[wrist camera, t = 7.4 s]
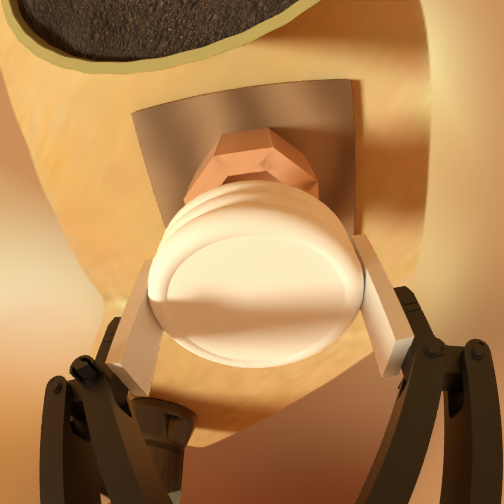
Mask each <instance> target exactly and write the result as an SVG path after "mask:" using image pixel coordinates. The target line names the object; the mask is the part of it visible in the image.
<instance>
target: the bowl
mask: <svg viewBox="0 0 504 504" xmlns="http://www.w3.org/2000/svg"><path fill="white" fill-rule="evenodd" d="M250 180H261V181H273V182H277V183H282V184H287V185H289V186H292V187H295V188H298V189H300V190H302V191H304V192H306V193H308V194H310V195H312V196H314V197H315V198H317V199H318V200H319V196H318V180H317V178H316V176H315V174H314V172H313V171H312V169H311V167H310V165H309V163H308V161H307V159H306V157H305V155H304V154H303V153H302V152H300V151H299V150H298V149H296V148H295V147H294V146H293V145H291V144H290V143H289V142H287V141H286V140H285V139H283V138H282V137H281V136H279V135H278V134H276V133H275V132H274V131H272V130H271V129H270V128H269V127H267V128H260V129H252V130H245V131H239V132H232V133H226V134H222V135H221V136H220V138H219V139H218V141H217V142H216V143H215V145H214V146H213V148H212V149H211V150H210V152H209V153H208V155H207V156H206V157H205V159H204V160H203V162H202V163H201V165H200V166H199V167H198V168H197V170H196V173H195V175H194V177H193V179H192V181H191V183H190V186H189V188H188V190H187V192H186V194H185V197H184V203H185V205H186V204H187V203H189V202H190V201H191V200H193V199H194V198H196V197H197V196H199V195H200V194H202V193H204V192H206V191H208V190H210V189H212V188H215V187H218V186H221V185H224V184H228V183H233V182H238V181H250Z"/></svg>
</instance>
